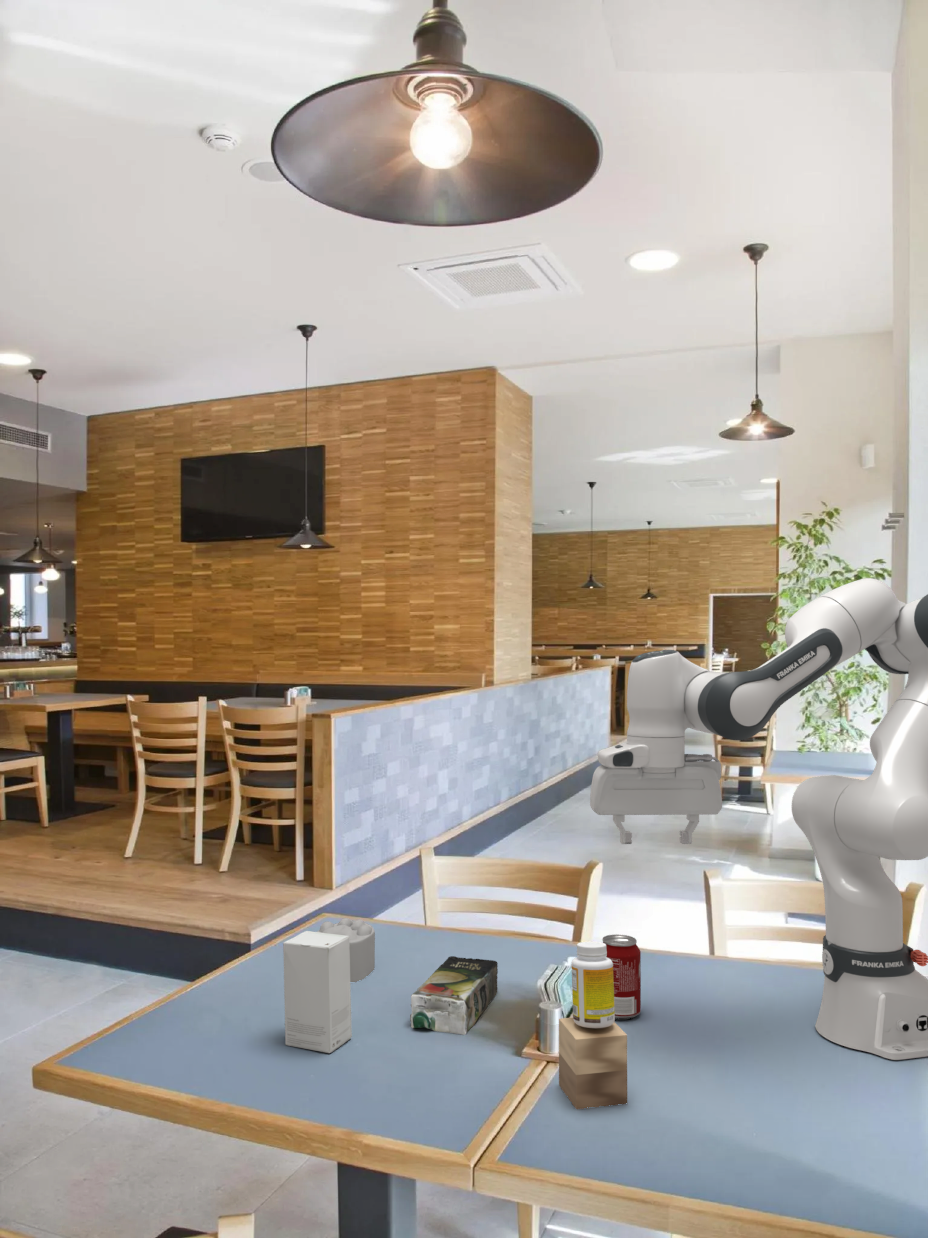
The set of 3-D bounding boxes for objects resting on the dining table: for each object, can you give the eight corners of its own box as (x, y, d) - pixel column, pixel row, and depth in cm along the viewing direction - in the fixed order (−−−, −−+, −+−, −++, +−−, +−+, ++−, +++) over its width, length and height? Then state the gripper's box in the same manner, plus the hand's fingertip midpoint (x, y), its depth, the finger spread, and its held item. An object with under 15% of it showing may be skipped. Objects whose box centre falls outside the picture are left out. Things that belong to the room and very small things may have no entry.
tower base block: (607, 1080, 129) (607, 1047, 129) (627, 1104, 122) (627, 1069, 123) (558, 1085, 128) (558, 1052, 128) (576, 1110, 121) (576, 1074, 121)
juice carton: (466, 1039, 143) (466, 998, 143) (406, 1032, 146) (406, 992, 146) (500, 995, 162) (500, 959, 163) (446, 990, 165) (446, 954, 165)
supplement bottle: (623, 1024, 125) (620, 944, 127) (596, 1032, 121) (594, 950, 123) (591, 1016, 129) (589, 938, 131) (564, 1023, 126) (562, 944, 127)
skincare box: (352, 1039, 142) (353, 935, 143) (328, 1056, 136) (329, 948, 137) (306, 1030, 146) (307, 928, 146) (280, 1046, 140) (282, 940, 140)
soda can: (640, 1024, 149) (640, 947, 149) (597, 1020, 150) (597, 944, 151) (641, 1008, 155) (640, 934, 156) (599, 1005, 157) (599, 932, 157)
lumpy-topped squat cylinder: (304, 979, 169) (305, 930, 169) (333, 957, 181) (333, 911, 181) (359, 985, 166) (359, 935, 166) (384, 961, 178) (384, 915, 179)
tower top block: (607, 1048, 129) (607, 1014, 129) (627, 1070, 122) (627, 1035, 123) (558, 1052, 128) (559, 1019, 128) (576, 1075, 121) (576, 1039, 121)
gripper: (714, 751, 150) (715, 839, 150) (588, 752, 149) (588, 839, 149) (727, 756, 144) (728, 847, 143) (595, 756, 143) (595, 848, 142)
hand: (655, 843), depth 146 cm, fingers open, 8 cm apart
